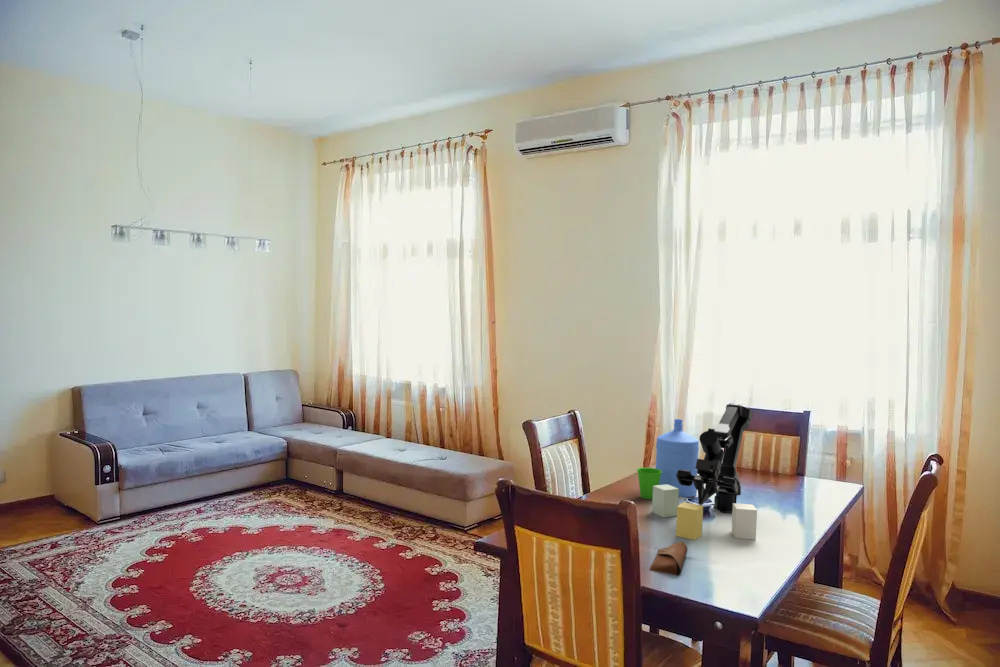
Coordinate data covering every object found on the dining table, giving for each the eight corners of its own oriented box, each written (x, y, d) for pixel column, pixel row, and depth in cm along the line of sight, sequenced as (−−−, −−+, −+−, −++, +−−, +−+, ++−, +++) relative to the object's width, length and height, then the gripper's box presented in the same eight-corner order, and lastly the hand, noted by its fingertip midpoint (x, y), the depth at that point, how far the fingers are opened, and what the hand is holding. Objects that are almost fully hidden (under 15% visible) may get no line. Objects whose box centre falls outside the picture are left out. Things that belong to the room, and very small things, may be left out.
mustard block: (682, 530, 213) (683, 502, 213) (701, 534, 210) (703, 505, 209) (675, 535, 208) (677, 506, 208) (695, 540, 205) (696, 510, 204)
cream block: (731, 531, 214) (732, 503, 213) (751, 533, 213) (752, 504, 212) (735, 538, 208) (736, 508, 207) (755, 539, 207) (757, 510, 207)
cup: (661, 504, 245) (662, 474, 245) (635, 502, 247) (636, 472, 246) (660, 498, 254) (661, 468, 253) (635, 495, 256) (636, 466, 255)
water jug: (689, 501, 251) (693, 425, 250) (648, 493, 259) (651, 420, 258) (701, 492, 264) (704, 419, 263) (662, 485, 273) (665, 415, 271)
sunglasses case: (657, 548, 200) (669, 530, 198) (677, 564, 198) (691, 546, 196) (648, 570, 183) (662, 551, 181) (671, 587, 181) (685, 568, 179)
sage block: (666, 510, 234) (667, 484, 234) (677, 515, 229) (678, 488, 228) (651, 512, 232) (653, 485, 231) (663, 517, 226) (664, 490, 226)
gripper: (679, 444, 225) (665, 485, 217) (737, 453, 215) (725, 496, 206) (686, 463, 232) (673, 503, 224) (742, 472, 222) (731, 515, 213)
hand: (700, 504), depth 217 cm, fingers closed
